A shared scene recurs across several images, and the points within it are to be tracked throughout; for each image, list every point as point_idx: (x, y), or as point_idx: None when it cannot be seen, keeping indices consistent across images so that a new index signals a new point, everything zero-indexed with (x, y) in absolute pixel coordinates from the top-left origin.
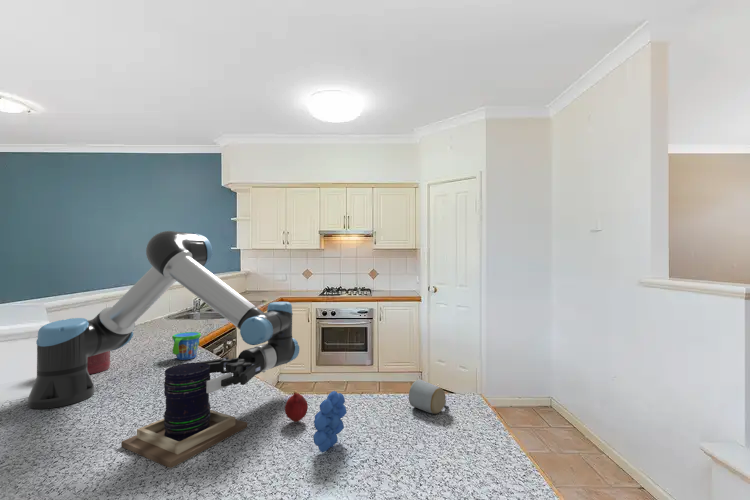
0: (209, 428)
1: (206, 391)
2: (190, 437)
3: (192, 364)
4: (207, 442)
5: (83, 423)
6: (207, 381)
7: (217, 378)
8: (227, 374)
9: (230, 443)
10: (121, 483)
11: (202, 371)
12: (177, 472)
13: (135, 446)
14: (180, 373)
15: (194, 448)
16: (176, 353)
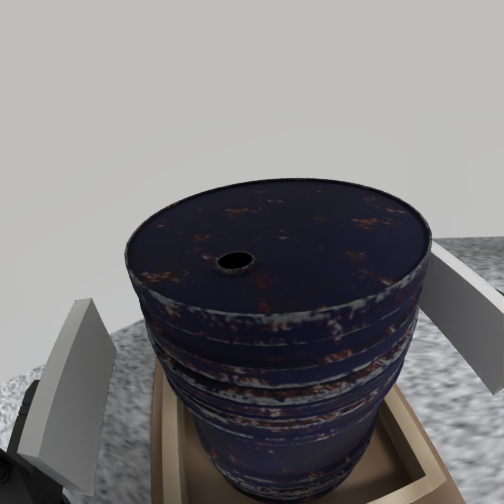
0: (169, 451)
1: (113, 344)
2: (169, 391)
3: (390, 247)
4: (155, 442)
5: (499, 287)
6: (84, 299)
7: (57, 344)
8: (37, 425)
9: (122, 493)
10: None
11: (128, 252)
12: (135, 366)
13: None
14: (220, 200)
15: (158, 408)
16: None
